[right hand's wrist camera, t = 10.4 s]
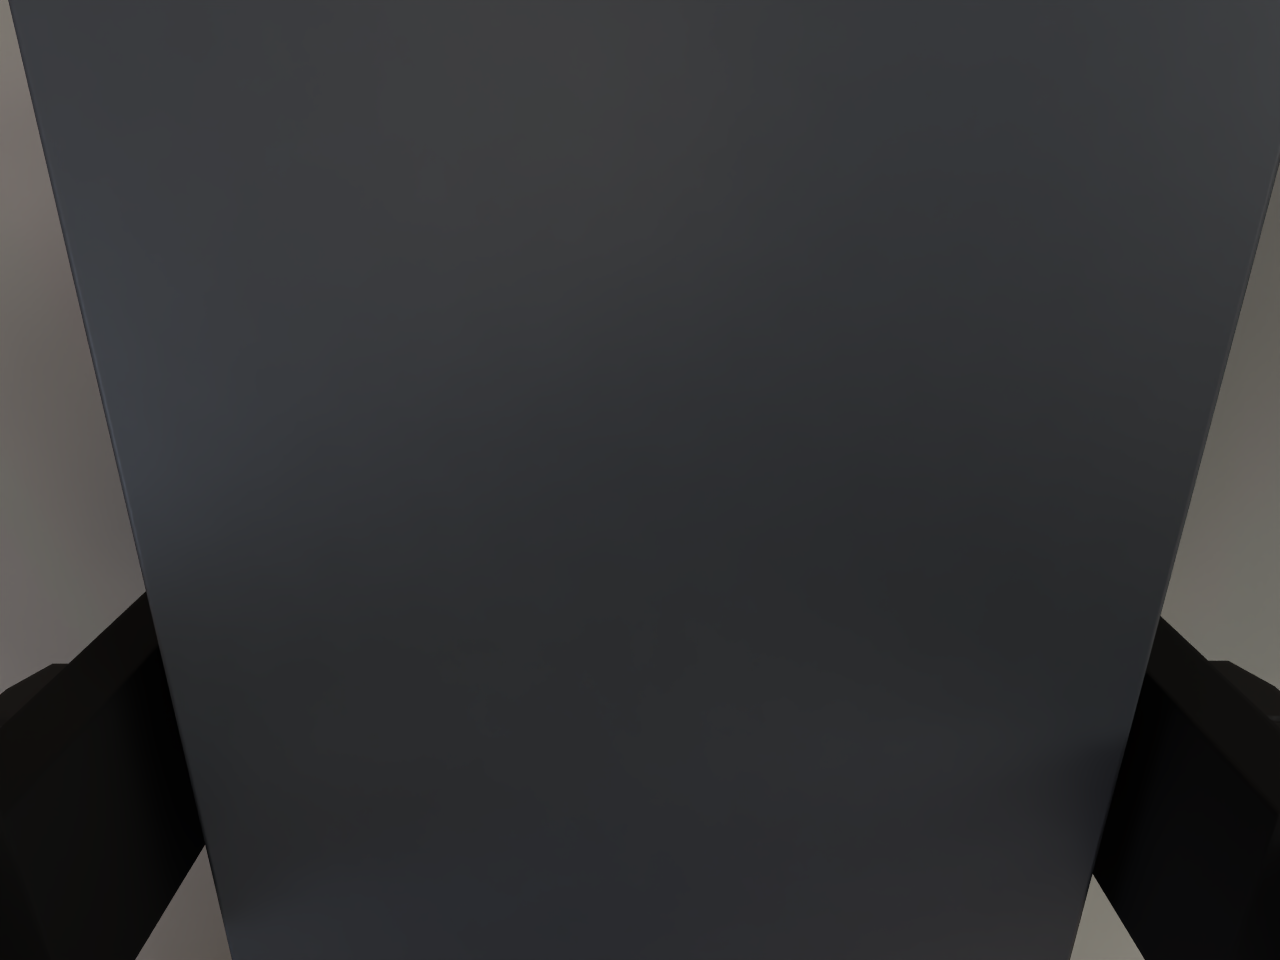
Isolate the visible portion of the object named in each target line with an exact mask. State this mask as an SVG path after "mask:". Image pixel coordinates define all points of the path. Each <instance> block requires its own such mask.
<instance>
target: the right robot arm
mask: <svg viewBox="0 0 1280 960" xmlns="http://www.w3.org/2000/svg"><path fill="white" fill-rule="evenodd" d="M204 845H205V841H204V837H203V832H202V828H201V824H200V820H199V815H198V811H197V807H196V802H195V798H194V794H193V790H192V785H191V781H190V777H189V772H188V768H187V764H186V760H185V755H184V751H183V747H182V742H181V738H180V734H179V730H178V725H177V721H176V717H175V712H174V708H173V704H172V700H171V695H170V691H169V687H168V682H167V678H166V674H165V670H164V665H163V661H162V657H161V652H160V648H159V644H158V640H157V635H156V631H155V627H154V622H153V618H152V614H151V610H150V605H149V601H148V597H147V592H145V593H144V594H143V595H141V596H140V597H139V598H138V599H137V600H136V601H135V602H134V603H133V604H132V605H131V606H130V607H129V608H128V609H127V610H125V611H124V612H123V613H122V614H121V615H120V616H119V617H118V618H117V619H116V620H115V621H114V622H113V623H112V624H111V625H109V626H108V627H107V628H106V629H105V630H104V631H103V632H102V633H101V634H100V635H99V636H98V637H97V638H96V639H95V640H93V641H92V642H91V643H90V644H89V645H88V646H87V647H86V648H85V649H84V650H83V651H82V652H81V653H80V654H79V655H77V656H76V657H75V658H74V659H73V660H72V661H71V662H70V663H69V664H51V665H49V666H48V667H46V668H44V669H42V670H40V671H39V672H37V673H35V674H33V675H31V676H30V677H28V678H26V679H24V680H22V681H21V682H19V683H17V684H15V685H13V686H12V687H10V688H8V689H6V690H5V691H4V692H3V693H2V694H1V695H0V960H135V959H136V957H137V956H138V954H139V952H140V951H141V949H142V947H143V946H144V944H145V943H146V941H147V939H148V938H149V936H150V934H151V933H152V931H153V929H154V928H155V926H156V924H157V923H158V921H159V919H160V918H161V916H162V915H163V913H164V911H165V910H166V908H167V906H168V905H169V903H170V901H171V900H172V898H173V896H174V895H175V893H176V891H177V890H178V888H179V887H180V885H181V883H182V882H183V880H184V878H185V877H186V875H187V873H188V872H189V870H190V868H191V867H192V865H193V863H194V862H195V860H196V859H197V857H198V855H199V854H200V852H201V850H202V849H203V847H204ZM1093 875H1094V877H1095V878H1096V880H1097V882H1098V883H1099V885H1100V887H1101V888H1102V890H1103V892H1104V893H1105V895H1106V896H1107V898H1108V900H1109V901H1110V903H1111V905H1112V906H1113V908H1114V910H1115V911H1116V913H1117V915H1118V916H1119V918H1120V920H1121V921H1122V923H1123V924H1124V926H1125V928H1126V929H1127V931H1128V933H1129V934H1130V936H1131V938H1132V939H1133V941H1134V943H1135V944H1136V946H1137V947H1138V949H1139V951H1140V952H1141V954H1142V956H1143V957H1144V959H1145V960H1280V691H1279V690H1278V689H1277V688H1276V687H1275V686H1273V685H1271V684H1269V683H1268V682H1266V681H1264V680H1262V679H1260V678H1259V677H1257V676H1255V675H1253V674H1251V673H1249V672H1248V671H1246V670H1244V669H1242V668H1240V667H1239V666H1237V665H1235V664H1233V663H1231V662H1230V661H1208V660H1207V659H1206V658H1205V657H1204V656H1203V655H1201V654H1200V653H1199V652H1198V651H1197V650H1196V649H1195V648H1194V647H1193V646H1192V645H1191V644H1190V643H1189V642H1188V641H1186V640H1185V639H1184V638H1183V637H1182V636H1181V635H1180V634H1179V633H1178V632H1177V631H1176V630H1175V629H1174V628H1173V627H1172V626H1170V625H1169V624H1168V623H1167V622H1166V621H1165V620H1164V619H1163V618H1162V617H1161V616H1160V619H1159V622H1158V626H1157V630H1156V634H1155V638H1154V641H1153V645H1152V649H1151V653H1150V657H1149V660H1148V664H1147V668H1146V672H1145V676H1144V680H1143V683H1142V687H1141V691H1140V695H1139V699H1138V702H1137V706H1136V710H1135V714H1134V718H1133V721H1132V725H1131V729H1130V733H1129V737H1128V740H1127V744H1126V748H1125V752H1124V756H1123V759H1122V763H1121V767H1120V771H1119V775H1118V778H1117V782H1116V786H1115V790H1114V794H1113V797H1112V801H1111V805H1110V809H1109V813H1108V816H1107V820H1106V824H1105V828H1104V832H1103V835H1102V839H1101V843H1100V847H1099V851H1098V854H1097V858H1096V862H1095V866H1094V870H1093Z"/></svg>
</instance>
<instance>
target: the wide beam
mask: <svg viewBox="0 0 1280 960" xmlns="http://www.w3.org/2000/svg"><path fill="white" fill-rule="evenodd" d="M8 1H9V5H10V9H11V14H12V18H13V22H14V27H15V31H16V35H17V39H18V44H19V48H20V52H21V57H22V61H23V65H24V69H25V74H26V78H27V82H28V87H29V91H30V95H31V99H32V104H33V108H34V112H35V117H36V121H37V125H38V129H39V134H40V138H41V142H42V147H43V151H44V155H45V159H46V164H47V168H48V172H49V177H50V181H51V185H52V190H53V194H54V198H55V202H56V207H57V211H58V215H59V220H60V224H61V228H62V232H63V237H64V241H65V245H66V250H67V254H68V258H69V262H70V267H71V271H72V275H73V280H74V284H75V288H76V292H77V297H78V301H79V305H80V310H81V314H82V318H83V322H84V327H85V331H86V335H87V340H88V344H89V348H90V352H91V357H92V361H93V365H94V370H95V374H96V378H97V382H98V387H99V391H100V395H101V400H102V404H103V408H104V412H105V417H106V421H107V425H108V430H109V434H110V438H111V442H112V447H113V451H114V455H115V460H116V464H117V468H118V472H119V477H120V481H121V485H122V490H123V494H124V498H125V502H126V507H127V511H128V515H129V520H130V524H131V528H132V532H133V537H134V541H135V545H136V550H137V554H138V558H139V562H140V567H141V571H142V575H143V580H144V584H145V588H146V592H147V597H148V601H149V605H150V610H151V614H152V618H153V622H154V627H155V631H156V635H157V640H158V644H159V648H160V652H161V657H162V661H163V665H164V670H165V674H166V678H167V682H168V687H169V691H170V695H171V700H172V704H173V708H174V712H175V717H176V721H177V725H178V730H179V734H180V738H181V742H182V747H183V751H184V755H185V760H186V764H187V768H188V772H189V777H190V781H191V785H192V790H193V794H194V798H195V802H196V807H197V811H198V815H199V820H200V824H201V828H202V832H203V837H204V841H205V845H206V850H207V854H208V858H209V862H210V867H211V871H212V875H213V880H214V884H215V888H216V892H217V897H218V901H219V905H220V910H221V914H222V918H223V922H224V927H225V931H226V935H227V940H228V944H229V948H230V952H231V957H232V960H1070V957H1071V953H1072V950H1073V946H1074V942H1075V938H1076V934H1077V931H1078V927H1079V923H1080V919H1081V915H1082V911H1083V908H1084V904H1085V900H1086V896H1087V892H1088V889H1089V885H1090V881H1091V877H1092V873H1093V870H1094V866H1095V862H1096V858H1097V854H1098V851H1099V847H1100V843H1101V839H1102V835H1103V832H1104V828H1105V824H1106V820H1107V816H1108V813H1109V809H1110V805H1111V801H1112V797H1113V794H1114V790H1115V786H1116V782H1117V778H1118V775H1119V771H1120V767H1121V763H1122V759H1123V756H1124V752H1125V748H1126V744H1127V740H1128V737H1129V733H1130V729H1131V725H1132V721H1133V718H1134V714H1135V710H1136V706H1137V702H1138V699H1139V695H1140V691H1141V687H1142V683H1143V680H1144V676H1145V672H1146V668H1147V664H1148V660H1149V657H1150V653H1151V649H1152V645H1153V641H1154V638H1155V634H1156V630H1157V626H1158V622H1159V619H1160V615H1161V611H1162V607H1163V603H1164V600H1165V596H1166V592H1167V588H1168V584H1169V581H1170V577H1171V573H1172V569H1173V565H1174V562H1175V558H1176V554H1177V550H1178V546H1179V543H1180V539H1181V535H1182V531H1183V527H1184V524H1185V520H1186V516H1187V512H1188V508H1189V505H1190V501H1191V497H1192V493H1193V489H1194V486H1195V482H1196V478H1197V474H1198V470H1199V467H1200V463H1201V459H1202V455H1203V451H1204V448H1205V444H1206V440H1207V436H1208V432H1209V429H1210V425H1211V421H1212V417H1213V413H1214V410H1215V406H1216V402H1217V398H1218V394H1219V390H1220V387H1221V383H1222V379H1223V375H1224V371H1225V368H1226V364H1227V360H1228V356H1229V352H1230V349H1231V345H1232V341H1233V337H1234V333H1235V330H1236V326H1237V322H1238V318H1239V314H1240V311H1241V307H1242V303H1243V299H1244V295H1245V292H1246V288H1247V284H1248V280H1249V276H1250V273H1251V269H1252V265H1253V261H1254V257H1255V254H1256V250H1257V246H1258V242H1259V238H1260V235H1261V231H1262V227H1263V223H1264V219H1265V216H1266V212H1267V208H1268V204H1269V200H1270V197H1271V193H1272V189H1273V185H1274V181H1275V178H1276V174H1277V170H1278V166H1279V162H1280V0H8Z"/></svg>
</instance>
